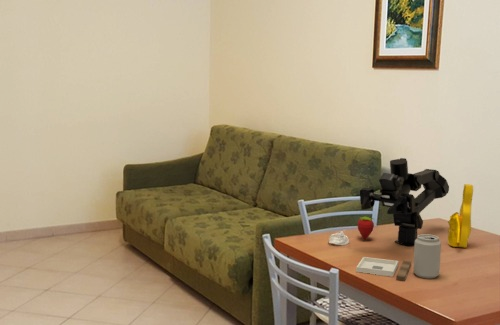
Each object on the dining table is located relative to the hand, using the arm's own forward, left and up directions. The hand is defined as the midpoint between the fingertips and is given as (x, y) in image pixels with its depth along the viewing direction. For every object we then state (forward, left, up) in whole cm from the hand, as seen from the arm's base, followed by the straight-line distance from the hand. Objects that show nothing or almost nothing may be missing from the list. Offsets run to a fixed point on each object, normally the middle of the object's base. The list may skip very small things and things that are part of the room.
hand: (374, 210), depth 185 cm
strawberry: (-16, -19, -17) cm, 30 cm away
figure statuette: (-37, +5, -17) cm, 41 cm away
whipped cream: (-4, -21, -17) cm, 27 cm away
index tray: (+5, +7, -16) cm, 19 cm away
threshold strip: (+1, +14, -16) cm, 21 cm away
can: (-3, +19, -17) cm, 26 cm away
